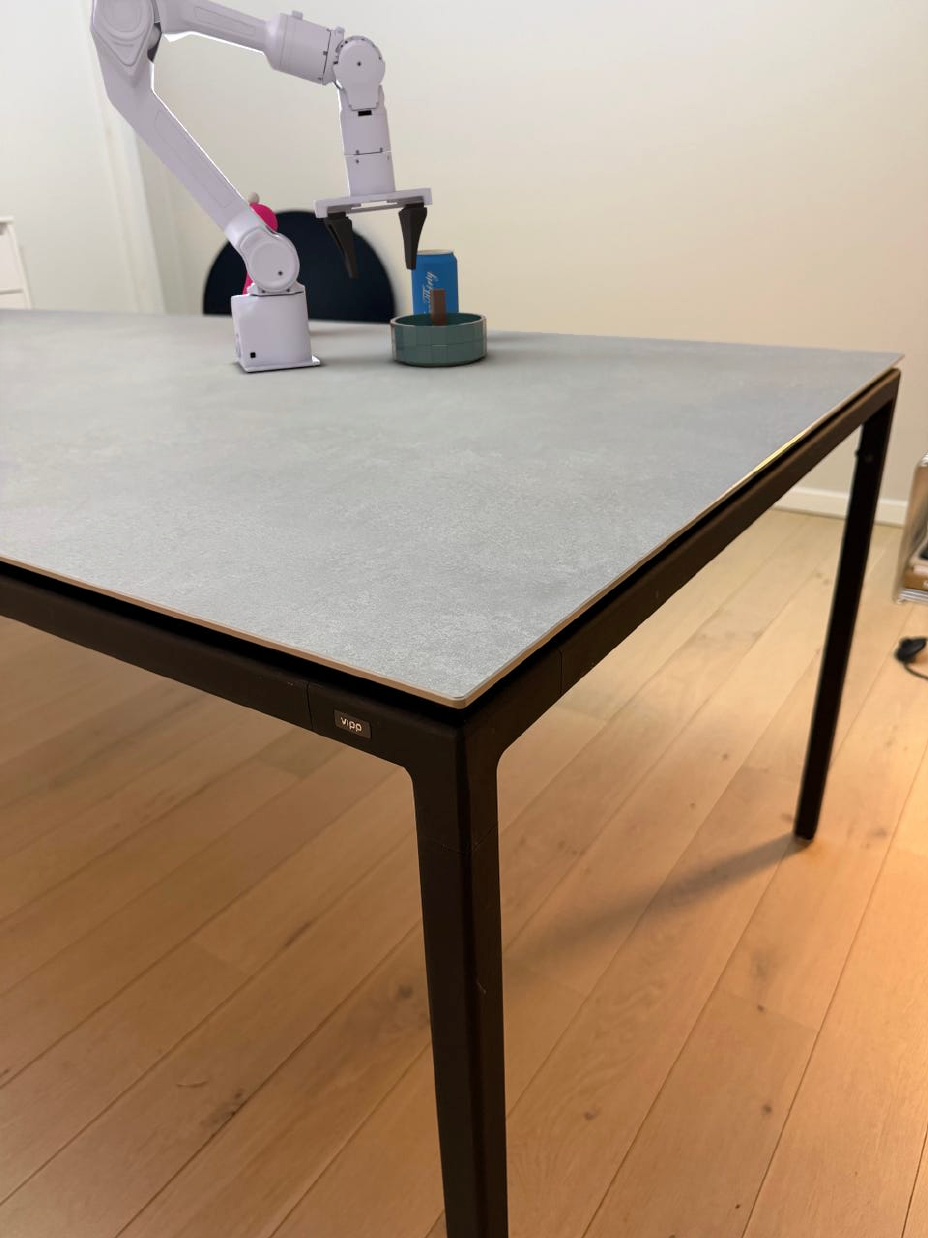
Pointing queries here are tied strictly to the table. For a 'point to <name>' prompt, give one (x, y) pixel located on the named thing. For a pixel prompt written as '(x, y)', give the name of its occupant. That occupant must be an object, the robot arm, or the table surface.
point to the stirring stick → (438, 307)
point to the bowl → (439, 339)
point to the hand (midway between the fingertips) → (382, 273)
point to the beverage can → (435, 279)
